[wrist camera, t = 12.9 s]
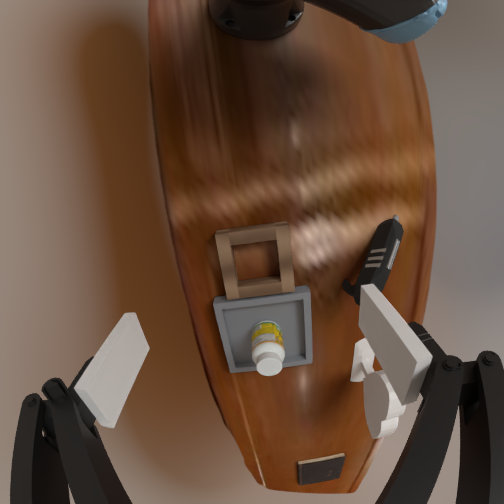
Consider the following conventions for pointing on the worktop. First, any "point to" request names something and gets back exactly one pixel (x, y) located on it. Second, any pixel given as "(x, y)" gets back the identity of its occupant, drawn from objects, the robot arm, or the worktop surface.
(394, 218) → the gun
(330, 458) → the hardcover book
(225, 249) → the socket block
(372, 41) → the worktop surface
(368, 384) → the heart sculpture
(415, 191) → the worktop surface
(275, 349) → the supplement bottle
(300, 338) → the tray
